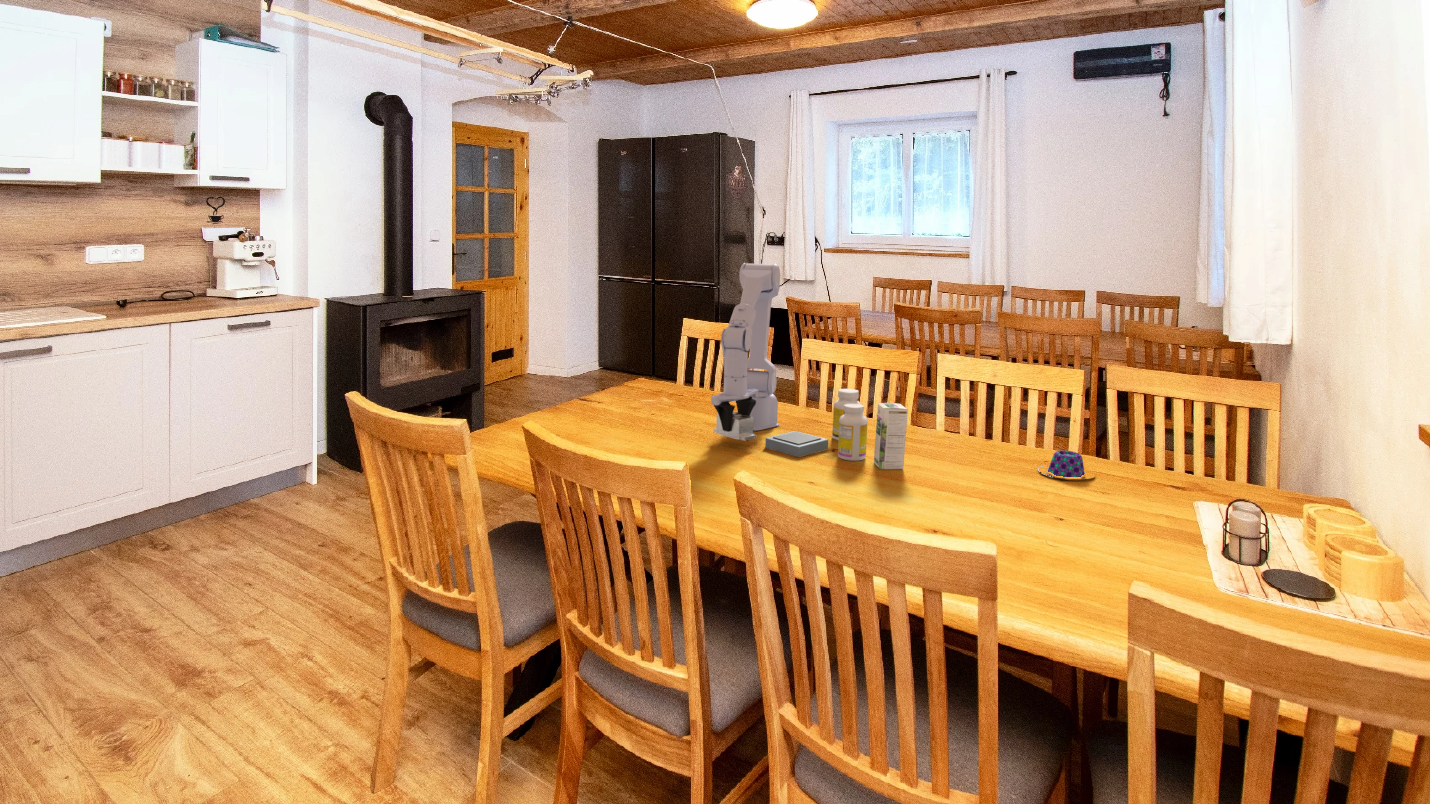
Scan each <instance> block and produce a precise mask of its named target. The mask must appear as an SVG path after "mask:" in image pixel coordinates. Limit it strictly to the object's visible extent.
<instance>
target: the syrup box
mask: <svg viewBox="0 0 1430 804" xmlns="http://www.w3.org/2000/svg"><path fill="white" fill-rule="evenodd" d="M908 411H909V409H908V408H906V407H905V406H904V405H903V404H901V403H895V402H880V403H878V404H877V415H876V427H875V439H874V440H875V441H874V456H873V457H874V458H873V464H874V465H876V467H878V469H879V470H904V464H905V451H906V440H907V439H906V437H907V427H908V425H907V424H908Z"/></svg>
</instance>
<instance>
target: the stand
mask: <svg viewBox="0 0 1430 804" xmlns="http://www.w3.org/2000/svg"><path fill="white" fill-rule="evenodd" d="M764 444H765V449H768V450H773V451H776V452H779V453H783V454H786V455H790V456H792V457H796V458H802V457H806V456H809V455H812V454H815V453H819V451H820V452H823V451H827V450H828V449H829V439H827V438H824V437H822V436H821V437H820V436H818V435H817V436H816V435H812V434H809V433H805V432H801V431H797V430H793V431H789V432H785V433H781V434H776V435H773V436H772V435H771V436H769V437H765V443H764Z"/></svg>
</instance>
